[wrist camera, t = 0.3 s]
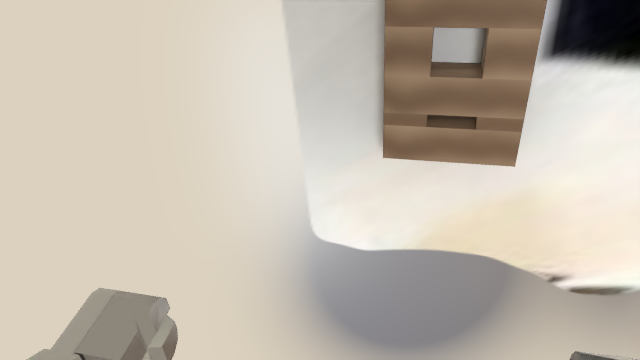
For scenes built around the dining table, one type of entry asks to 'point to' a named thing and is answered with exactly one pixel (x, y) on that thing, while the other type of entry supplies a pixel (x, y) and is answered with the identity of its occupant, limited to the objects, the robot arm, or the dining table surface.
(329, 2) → the dining table surface
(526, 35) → the wooden slotted board
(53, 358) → the robot arm
